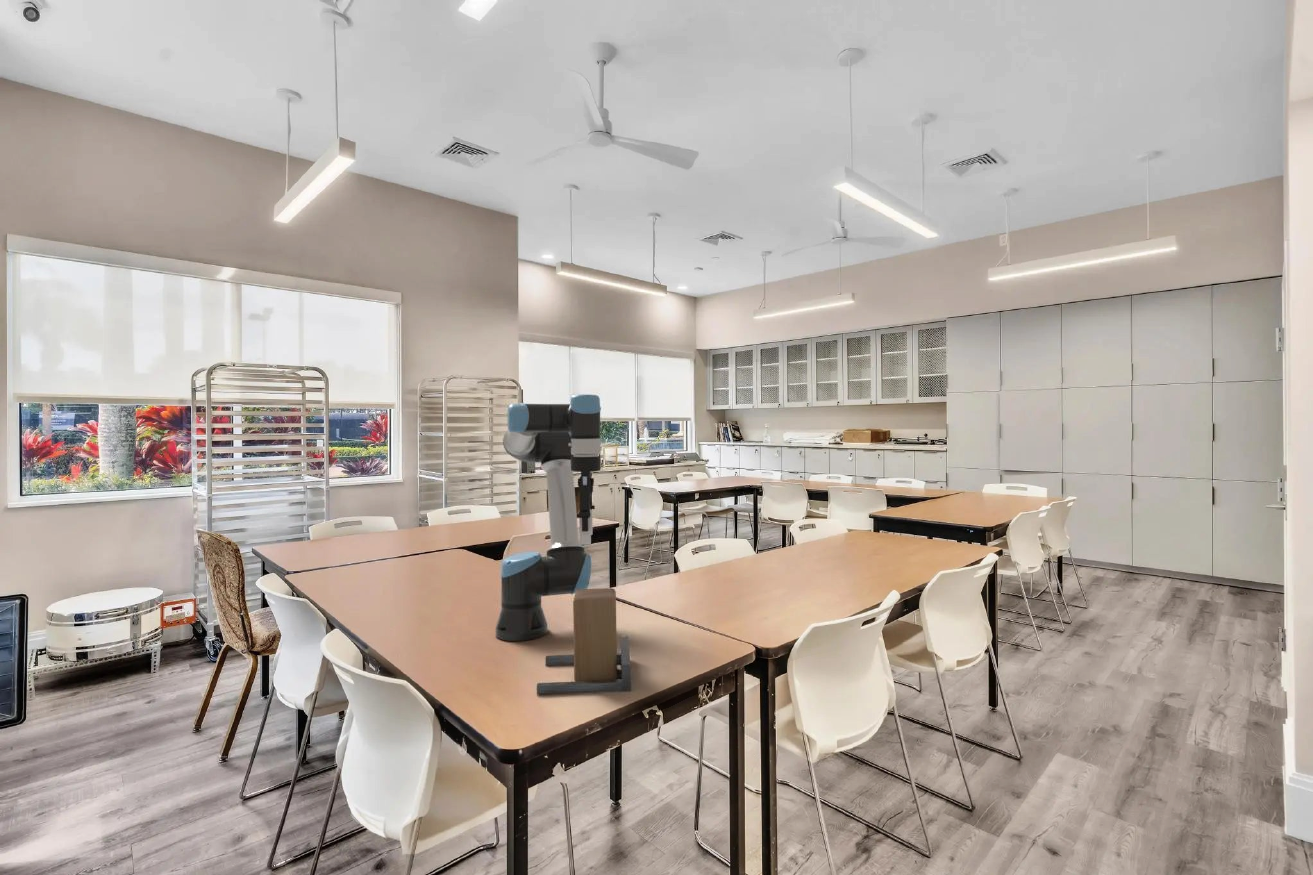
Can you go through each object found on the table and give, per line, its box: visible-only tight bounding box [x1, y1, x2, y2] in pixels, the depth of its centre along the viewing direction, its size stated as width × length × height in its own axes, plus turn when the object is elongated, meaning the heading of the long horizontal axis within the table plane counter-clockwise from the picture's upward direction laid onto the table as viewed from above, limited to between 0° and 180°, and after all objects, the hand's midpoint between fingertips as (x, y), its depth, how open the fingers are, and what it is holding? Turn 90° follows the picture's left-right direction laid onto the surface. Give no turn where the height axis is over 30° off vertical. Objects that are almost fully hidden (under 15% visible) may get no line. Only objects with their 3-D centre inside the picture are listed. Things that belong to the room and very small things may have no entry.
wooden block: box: [572, 587, 618, 682], centre depth 146 cm, size 10×10×20 cm
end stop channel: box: [536, 636, 632, 696], centre depth 146 cm, size 21×20×6 cm
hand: (586, 539), depth 153 cm, fingers open, 13 cm apart
